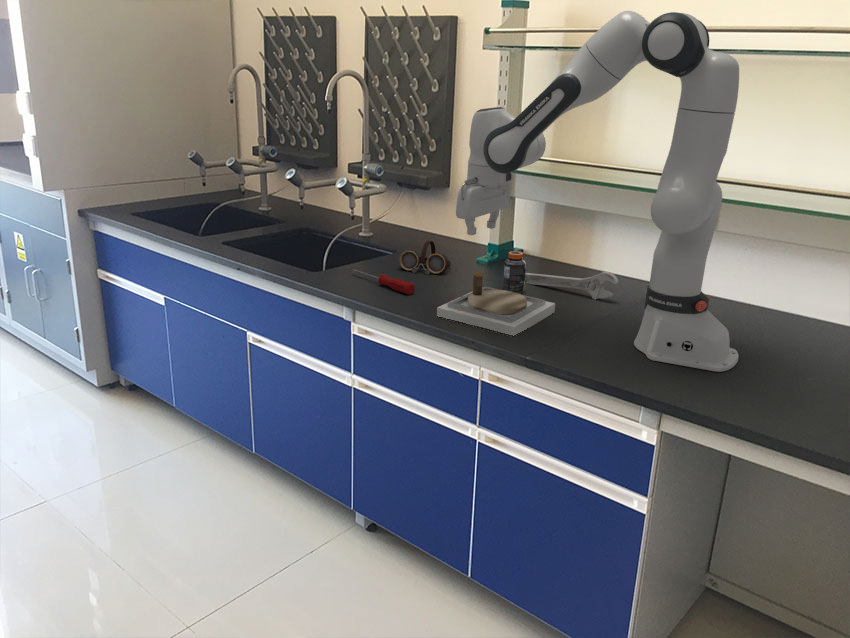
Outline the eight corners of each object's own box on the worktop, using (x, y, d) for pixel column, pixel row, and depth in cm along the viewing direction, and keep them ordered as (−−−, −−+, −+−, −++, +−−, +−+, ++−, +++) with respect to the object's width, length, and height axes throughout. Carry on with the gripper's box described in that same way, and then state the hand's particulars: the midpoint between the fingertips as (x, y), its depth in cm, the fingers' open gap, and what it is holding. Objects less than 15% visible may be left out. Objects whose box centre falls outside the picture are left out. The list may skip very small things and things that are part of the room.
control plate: (554, 312, 186) (555, 299, 185) (513, 336, 169) (514, 323, 168) (481, 295, 198) (482, 283, 197) (436, 316, 181) (437, 303, 180)
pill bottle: (526, 290, 204) (529, 251, 200) (520, 295, 199) (523, 256, 195) (506, 287, 206) (509, 248, 202) (499, 292, 201) (502, 253, 197)
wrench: (523, 290, 213) (618, 301, 195) (520, 292, 212) (615, 303, 193) (522, 264, 211) (618, 272, 192) (519, 265, 210) (615, 274, 191)
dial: (537, 302, 185) (539, 277, 182) (508, 318, 173) (510, 291, 171) (486, 291, 193) (488, 267, 190) (456, 305, 181) (457, 279, 179)
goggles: (396, 271, 218) (399, 238, 217) (409, 269, 230) (412, 238, 229) (444, 276, 214) (447, 243, 212) (455, 274, 226) (458, 243, 225)
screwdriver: (357, 274, 215) (357, 263, 214) (415, 294, 199) (416, 281, 197) (348, 276, 213) (348, 265, 211) (406, 296, 196) (406, 284, 195)
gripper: (474, 182, 165) (470, 241, 170) (516, 172, 181) (511, 226, 186) (451, 179, 169) (448, 236, 174) (494, 169, 184) (490, 222, 189)
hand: (481, 231), depth 180 cm, fingers open, 8 cm apart
